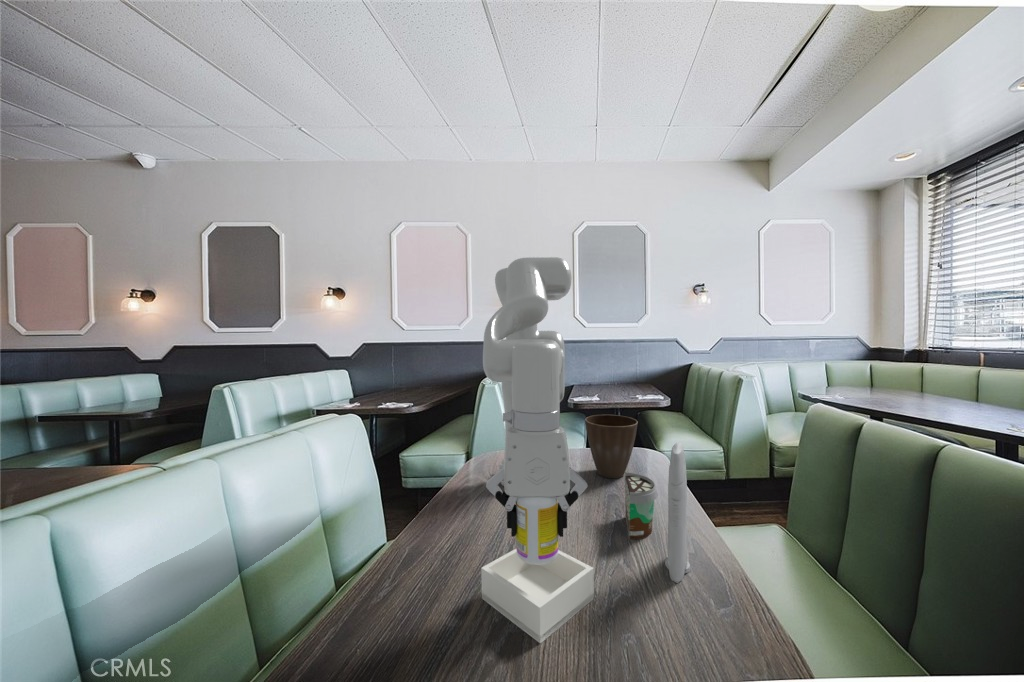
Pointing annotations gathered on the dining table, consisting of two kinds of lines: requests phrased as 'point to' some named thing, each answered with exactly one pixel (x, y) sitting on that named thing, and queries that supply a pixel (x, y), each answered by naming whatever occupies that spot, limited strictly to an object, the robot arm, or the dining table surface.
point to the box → (537, 591)
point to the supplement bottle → (537, 529)
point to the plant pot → (611, 443)
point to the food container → (639, 504)
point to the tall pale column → (677, 516)
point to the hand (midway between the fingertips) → (536, 531)
